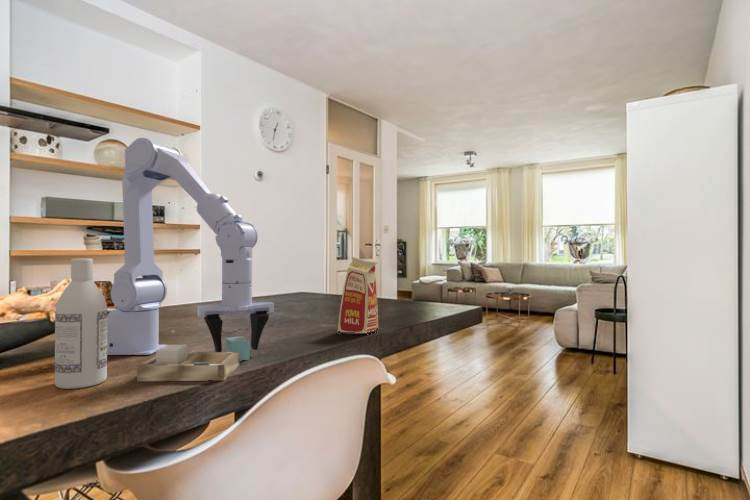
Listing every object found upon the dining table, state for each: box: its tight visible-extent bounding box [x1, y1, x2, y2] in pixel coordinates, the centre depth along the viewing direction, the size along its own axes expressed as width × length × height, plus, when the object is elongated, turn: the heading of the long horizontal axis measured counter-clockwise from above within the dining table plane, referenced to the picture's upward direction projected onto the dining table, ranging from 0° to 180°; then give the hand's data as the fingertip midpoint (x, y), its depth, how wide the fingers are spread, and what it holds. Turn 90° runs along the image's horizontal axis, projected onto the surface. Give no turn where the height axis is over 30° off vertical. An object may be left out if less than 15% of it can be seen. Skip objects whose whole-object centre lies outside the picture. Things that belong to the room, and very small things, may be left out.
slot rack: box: [136, 351, 240, 382], centre depth 77 cm, size 14×10×3 cm
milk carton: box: [337, 256, 379, 333], centre depth 117 cm, size 9×9×20 cm
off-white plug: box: [155, 344, 188, 364], centre depth 77 cm, size 6×4×4 cm, turn 2°
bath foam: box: [54, 257, 108, 390], centre depth 71 cm, size 7×7×20 cm
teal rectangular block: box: [225, 336, 251, 362], centre depth 87 cm, size 6×4×4 cm, turn 33°
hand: (236, 350), depth 87 cm, fingers open, 6 cm apart
